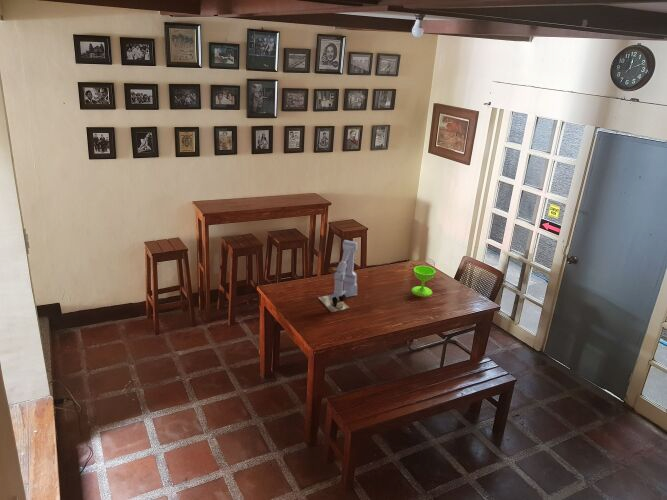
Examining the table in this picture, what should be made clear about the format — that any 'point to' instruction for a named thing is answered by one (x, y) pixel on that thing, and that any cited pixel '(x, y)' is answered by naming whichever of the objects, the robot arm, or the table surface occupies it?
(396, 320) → the table surface
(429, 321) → the table surface
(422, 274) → the wineglass
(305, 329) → the table surface
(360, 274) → the table surface
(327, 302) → the birch board
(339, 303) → the block
